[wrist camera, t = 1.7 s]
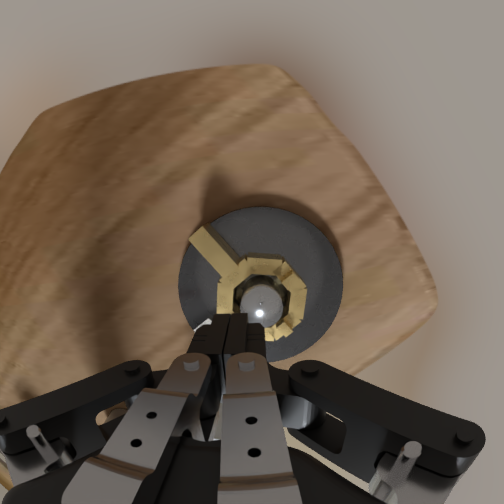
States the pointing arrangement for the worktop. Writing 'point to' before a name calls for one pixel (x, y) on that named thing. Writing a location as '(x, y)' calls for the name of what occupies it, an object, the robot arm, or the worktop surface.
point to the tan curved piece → (242, 267)
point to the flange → (268, 276)
